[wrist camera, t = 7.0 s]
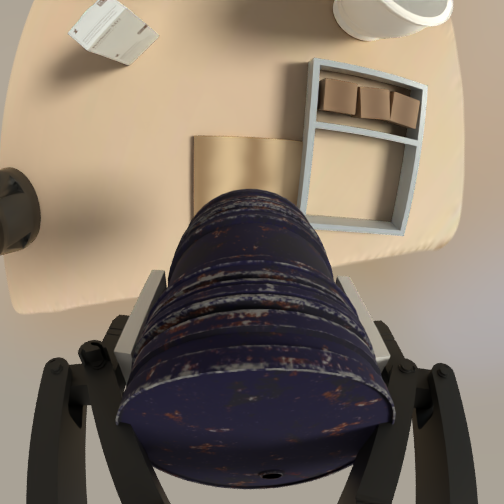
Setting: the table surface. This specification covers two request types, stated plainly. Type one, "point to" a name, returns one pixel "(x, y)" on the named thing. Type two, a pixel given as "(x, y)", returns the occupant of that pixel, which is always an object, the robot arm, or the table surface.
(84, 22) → the skincare box
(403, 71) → the table surface
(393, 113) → the block
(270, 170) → the mat
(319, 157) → the table surface
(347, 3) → the jar
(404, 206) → the tray
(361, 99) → the block
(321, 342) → the rusty oil drum
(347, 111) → the block
